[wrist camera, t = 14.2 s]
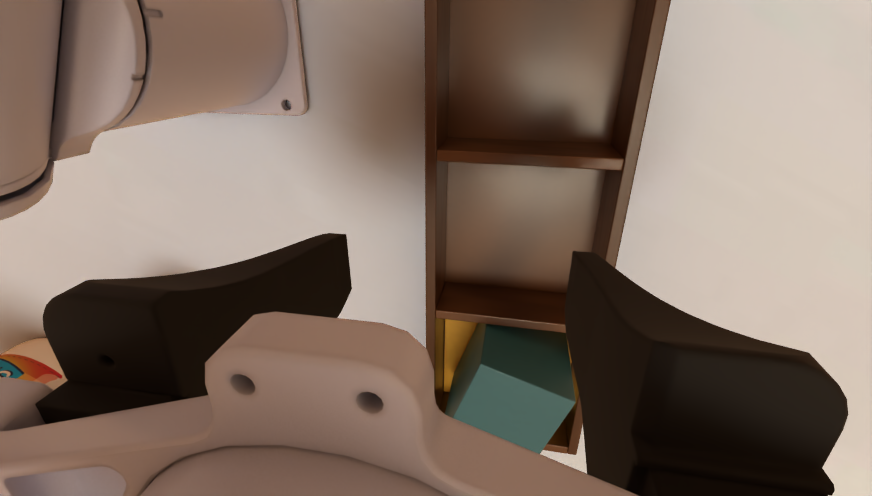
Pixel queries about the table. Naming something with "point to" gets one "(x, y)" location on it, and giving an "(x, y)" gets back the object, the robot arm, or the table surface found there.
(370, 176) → the table surface
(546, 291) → the organizer
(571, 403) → the teal box
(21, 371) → the white tall contoured bottle
